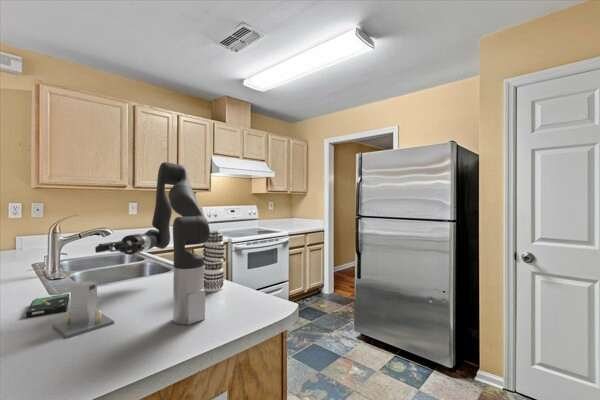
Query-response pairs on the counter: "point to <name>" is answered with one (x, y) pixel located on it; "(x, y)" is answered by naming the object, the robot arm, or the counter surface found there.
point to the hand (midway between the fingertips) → (108, 249)
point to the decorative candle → (213, 262)
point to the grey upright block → (83, 302)
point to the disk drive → (48, 306)
